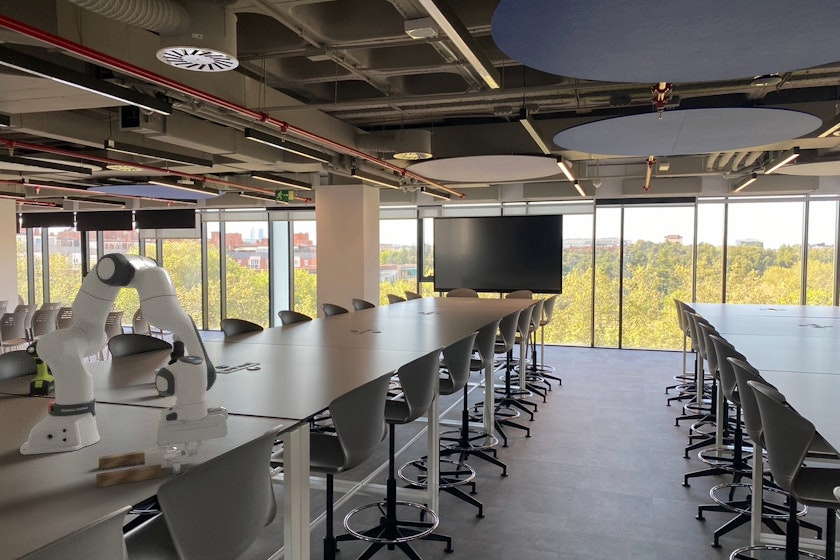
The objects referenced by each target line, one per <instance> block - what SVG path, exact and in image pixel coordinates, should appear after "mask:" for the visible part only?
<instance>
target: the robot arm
mask: <svg viewBox="0 0 840 560" xmlns="http://www.w3.org/2000/svg"><path fill="white" fill-rule="evenodd" d="M122 288H123V289H134V290H136V291H137V295H138V300H139V305H140V310H141V314H142V317H143V318H144V321H146V322H147V324H149V325H150V326H152V327H154V328H156V329H159V330H162V331H163V330H164V331H167V332H170V333H173V334H174V333H175V334H177V335H178V336H179V337H181V339H182V340H183V342H184V344H185V347H184V348H185V349H186V352H187V354H188V355H184V356H183V357H181V358H179V359H178V360H177V362H176V363H174V364H172V365H166V366H164V367H160V368H161V369H160V370H159V371H158V373H157V375H155V380H154V384H155V390H156V391H157V392H159V393H160V394H161V395H163V396H165V397H164V398H166V397H167V398H169V397H176V402H175V404H174V405H171V406H170V407H167V408H164V409H162V410H161V411H160V413H159V417H160V419H159V420H158V422H157V424H156V425H157V426H156V429H155V444H156V446H157V447H162V446H164V447H166V446H170V445H179V444H182V445H183V447H184V448H185V449H184V450H185V451H186V455H187V457H188V458H189V457H195V456H199V450H200V448H201V446H202V444H203V442H202V441H208V440H214V439H215V440H217V439H222V438H226V437H227V436H228V435H229V434H228V433H229V431H228V424H227V423H228V422H227V421H228V418H229V412H228V409H226V408H224V407H223V406H219V407H211V408H209V407H208V396H207V392H208V391H209V390H211V388H212V387H213V386H214V384H215V383H216V380H217V376H218V375H217V371H216V368H215V366H214V364H213V362H212V361H211V359H210V357H209V356H208V352H207V351H206V347H205V344H204V342H203V340H202V337H201V335H200V332H199V329H198V327H197V325H196V323H195V320H194V319H193V317H192V315H190V314H189V313H187V311H185V310H184V308H183V307H182V306H181V303H180V302H179V301H180V300H179V298H178V293H177V289H176V287H175V283H174V281H173V278H172V277H171V273H170V271H169V270H168V269H166V268H165V267H164V266H163V265H162V263H161V262H160V261H158V260H157V259H155V258H152V257H149V256H147V257H146V256H144V255H139V254H133V253H132V254H129V253H128V254H126V253H120V252H111V253H105V254H104V255H102V256H101V257H100V258H99V259H98V261H97V262H96V263H95V264H94V265H93V266H92V268H91V269H90V270H89V271H88V273H87V274H86V276H85V278H84V279H83V280H82V282H81V285H80V287H79V289H78V291H77V292H76V293H77V294H76V295H75V298H74V300H73V301H72V303H71V306H70V309H71V312H72V314H73V316H74V317H73V321H72V324H71V325H70V326H69V327H67V328H66V327H65V328H59V329H55V330H52V331H49V332H48V333H46V334H44V335H42V336H40V337H39V339H38V340H37V341H38V342H37V345H36V351H37V354H38V356H39V358H40V359H41V360H43V361H44V362H46V363H47V367H48V368H49V369H50V371H51V373H52V374H51V375H52V376H53V377H54V395H55V401H50V402H49V403H48V405H47V407H48V409H47V410H48V415H47V416H45V417H44V418H43V419H42V420H40V421H39V422H38V423H36V424H35V425H34V426H33V427H32V428H31V430H30V432H29V435H28V437H27V438H28V439H27V441H26V442H24V443H22V444H21V446H20V448H19V453H20V454H21V455H25V456H26V455H37V454H50V453H59V452H60V453H61V452H71V451H72V452H73V451H77V450H79V449H81V448H85V447H88V446H91V445H93V444H96V443H98V442H100V441H101V436H100V434H99V430H98V426H97V421H96V420H97V419H96V413H97V401H96V398H95V388H94V387H95V385H94V384H95V381H94V376H93V374H92V373H91V372H89V371H88V370H87V369H86V367H85V364H84V359H85V358H88V357H92V356H94V355H96V354H98V353H99V352H101V351H103V350H104V349H105V347H106V346H107V344H108V335H107V332H106V331H105V328H106V322H107V319H108V317H109V315H110V312H111V310H112V308H113V305H114V303H115V301H116V300H117V297H118V295H119V293H120V291H121V289H122ZM159 393H158V394H159ZM193 442H196V446H195V448H189V445H190V443H193Z"/></svg>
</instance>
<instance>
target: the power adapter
mask: <svg viewBox="0 0 840 560" xmlns="http://www.w3.org/2000/svg"><path fill="white" fill-rule="evenodd" d="M144 451H145V463H144V467H146V466H152V465H159V464H161V470H162V469H165V468H167V464H168V460H169V461H170V460H171V461H172V460H176V459H177V457H181V456H186V455H187V452H186V449H182V450H176V452H175V450H169V449H168V450H167V448H166V446H154V447H149V448H146V449H145V450H144Z"/></svg>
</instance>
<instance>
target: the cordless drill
mask: <svg viewBox="0 0 840 560" xmlns="http://www.w3.org/2000/svg"><path fill="white" fill-rule="evenodd" d="M37 342H38V340H36V341H33V342H31V343H30V344H29V345H28V346H27V347H26V350H25V351H26V353H27V354H28V355H29V356H31V358H33V359H34V360H35V364H36V366H37V375H36V376H35V377H34V378H32V379H31V381H30V384H29V396H30V395H47V396H49V395H50V394H49V393H51V392H52V391H53V392H55V382H54V377H53V375H52V374H49V370H48V364H47V363H46V362H44V361H43V360H41V359H40V358H39V356H38V354H37V351H36V345H37ZM53 392H52V393H53ZM52 393H51V394H52ZM48 394H49V395H48Z"/></svg>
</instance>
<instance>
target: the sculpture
mask: <svg viewBox="0 0 840 560" xmlns="http://www.w3.org/2000/svg"><path fill="white" fill-rule="evenodd" d="M171 337H172V338H171V339H172V351H171V352H170V353H169V356H170V360H169V361H168V363H167V366H169V365H172V364H174V363H176V362H177V360H178V359H179V358H181V357H183V356H185V352H186V351H185V349H186V347H185V344H184V342H183V340H182V339H181V337H179V336H178V335H177V334H175V333H173V334H172V336H171Z"/></svg>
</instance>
